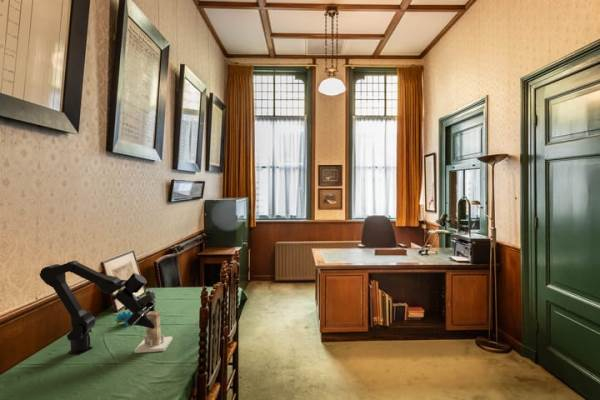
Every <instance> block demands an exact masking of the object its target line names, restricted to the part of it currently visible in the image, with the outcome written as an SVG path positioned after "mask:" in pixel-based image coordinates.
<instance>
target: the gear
mask: <svg viewBox="0 0 600 400" xmlns="http://www.w3.org/2000/svg"><path fill="white" fill-rule="evenodd" d="M132 314H133V313H132V312H130V311H127V312H126V311H124V312H122V313H121V312H120V313H118V314H117V315H116V317H115V318H114V322H115V323H116V328H119V324H120V323H125V325H124V326H125V327H129V325H128V324H127V320H128V319H129V318H130V317H131V316H132Z"/></svg>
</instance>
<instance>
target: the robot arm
mask: <svg viewBox="0 0 600 400" xmlns="http://www.w3.org/2000/svg"><path fill="white" fill-rule="evenodd" d="M66 273H72V274H73V275H76V276H78V277H80V278H82V279H84V280H86V281H89V282H90V283H93V284H94V285H96V287H98V289H99V290H101V292H103V293H105V295H111V294H112V295H111V296H110V297H111V298H110V301H111V303H113V302H116V301H118V302H119V303H120V304H121V305H123V307H124V310H125V311H128V312H131V314H132V313H133V314H132V316H131V317H130V318H129V319H128V320H127V324H128V326H130V327H132V326H139V327H144V328H146V327H148V328H152V329H153V328H154V327H155V326H154V325H153V324H152V322H151V321H150V320H149V319H148V318H147V313H148V312H151V311H156V310H155V307H156V300H155V299H157V298H156V292H154V291H153V290H150V289H149V290H148V291H146V292H145V295H143V296H140V295H135V294H136V293H137V294H138V293H139V291H140V290H141V289H142V288H143V287H144V286H145V285H146V284H147V282H148V281H147V279H146V278H145V277H144V276H143V275H140V274H138V273H136V272H133V273H132V274H131V275H130V277H129V278H128V279H121V278H120V277H116V276H113V275H109V274H108V275H107V274H103V273H102V272H101V273H100V272H99V271H96V270H95V269H93V268H90V267H89V266H86V265H84V264H82V263H81V262H79V261H78V260H71V261H68V262H65V263H63V264H58V263H54V264H51V265H49V266H46V267H45V266H44V267H43V268H41V269H40V272H39V277H40V279H41V280H42V281H43V282H44V283H45V284H46V285H47V286H49V287H51V288H52V289H53V290H54V292H55V294H56V295H57V296H58V298H59V300H60V301H61V303H62V304H63V306H64V308H65V310H66V311H67V313H68V315H69V316H70V326H71V328H72V330H71V331H70V332H69V333H68V334H66V338H67V340H68V341H69V342H70V349H69V351H67V353H68V354H74V355H81V354H83V353H85V352H87V351H89V350H91V349H93V347H94V346H91V336H90V333H91V332H92V329H93V328H94V327H95V325H96V320H95V319H96V317H95V316H94V315H93V313H92V311H91V310H89V311H86V310H84V309H83V308H82V305H81V304H80V302H79V301H78V299H77V297H76V296H75V294H74V293H73V291H72V289H71V288H70V286H69V285H68V283H67V281H66V277H67V276H66ZM114 293H115V294H114Z"/></svg>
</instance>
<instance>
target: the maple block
mask: <svg viewBox="0 0 600 400" xmlns="http://www.w3.org/2000/svg"><path fill="white" fill-rule="evenodd" d="M147 318H148V319H149V320H150V321H151V322H152V324H153V325H154V326H155V327H154V328H153V329H152V328H148V327H145V328H146V336H147V345H150V339H152V342H153V345H158V344H159V343H160V341H161V335H162V329H161V328H162V327H161V311H160V310H155V311H151V312H148V313H147Z"/></svg>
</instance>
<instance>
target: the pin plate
mask: <svg viewBox="0 0 600 400" xmlns="http://www.w3.org/2000/svg"><path fill="white" fill-rule="evenodd" d="M173 339H174V338H173V336H164V334H161V341H160V343H159V344H158V345H153V342H152V339H150V345H147V335H144V339H143V340H141V342H140V343H139V344H138V345H137V347H135V349H134V354H138V353H139V354H140V353H153V352H154V353H155V352H165V351H166V349H167V348H168V346H169V345H170V343H171V342H172V341H173Z"/></svg>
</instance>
